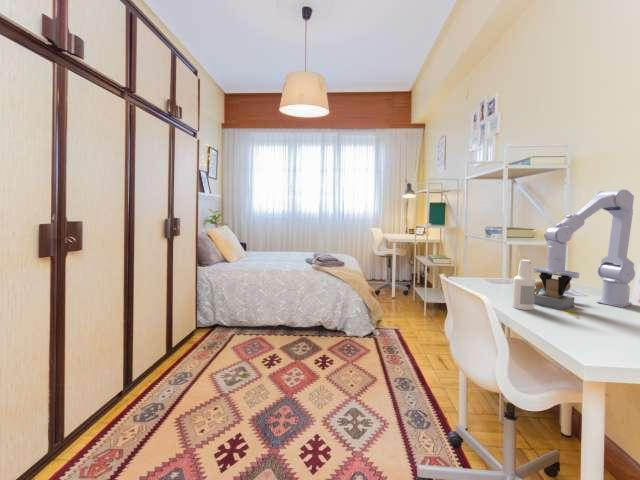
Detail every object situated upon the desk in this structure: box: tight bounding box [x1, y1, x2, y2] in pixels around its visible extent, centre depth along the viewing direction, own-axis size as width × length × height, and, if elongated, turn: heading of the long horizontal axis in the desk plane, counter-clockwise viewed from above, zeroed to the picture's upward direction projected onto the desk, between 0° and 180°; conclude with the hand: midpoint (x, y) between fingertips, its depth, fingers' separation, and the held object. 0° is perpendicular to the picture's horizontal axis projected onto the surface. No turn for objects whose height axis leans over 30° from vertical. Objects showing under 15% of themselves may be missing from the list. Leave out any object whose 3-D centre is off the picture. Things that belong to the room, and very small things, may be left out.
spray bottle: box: [511, 259, 536, 311], centre depth 119 cm, size 7×7×18 cm
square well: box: [534, 292, 575, 311], centre depth 123 cm, size 10×10×4 cm
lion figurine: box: [535, 280, 571, 295], centre depth 133 cm, size 15×5×9 cm, turn 46°
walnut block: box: [546, 277, 564, 299], centre depth 123 cm, size 4×4×8 cm
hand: (554, 293), depth 123 cm, fingers closed on walnut block, 4 cm apart
